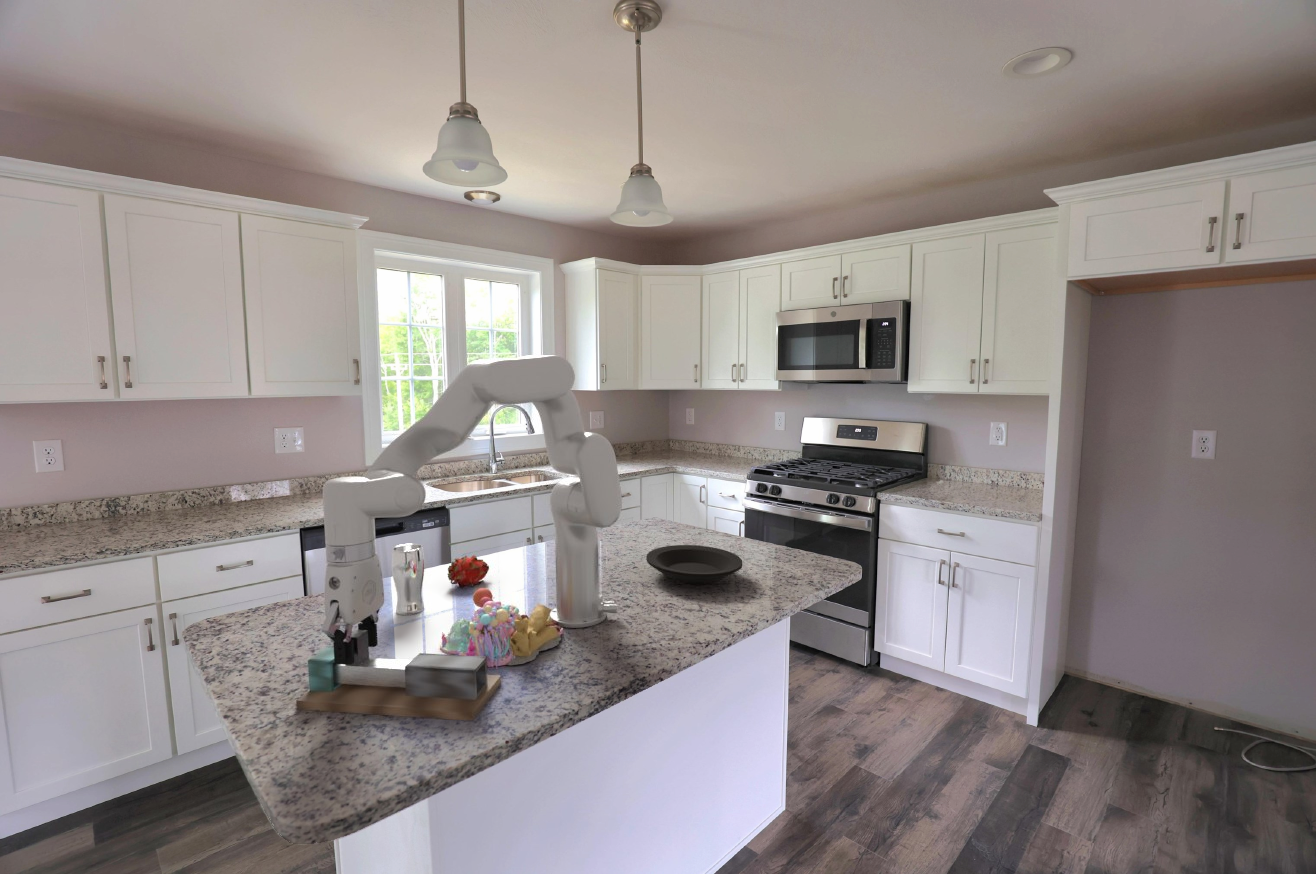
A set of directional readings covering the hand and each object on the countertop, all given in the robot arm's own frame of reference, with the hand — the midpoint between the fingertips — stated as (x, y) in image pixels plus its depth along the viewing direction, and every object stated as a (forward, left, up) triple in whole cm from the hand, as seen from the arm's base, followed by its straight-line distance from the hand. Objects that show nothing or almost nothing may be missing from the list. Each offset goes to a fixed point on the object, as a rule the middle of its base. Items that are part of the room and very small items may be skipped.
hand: (356, 653), depth 105 cm
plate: (-53, -67, -7) cm, 86 cm away
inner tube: (-4, 0, -5) cm, 6 cm away
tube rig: (-8, 0, -7) cm, 11 cm away
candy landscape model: (-16, -23, -8) cm, 29 cm away
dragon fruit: (+5, -56, -7) cm, 57 cm away
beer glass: (+11, -37, -7) cm, 39 cm away
